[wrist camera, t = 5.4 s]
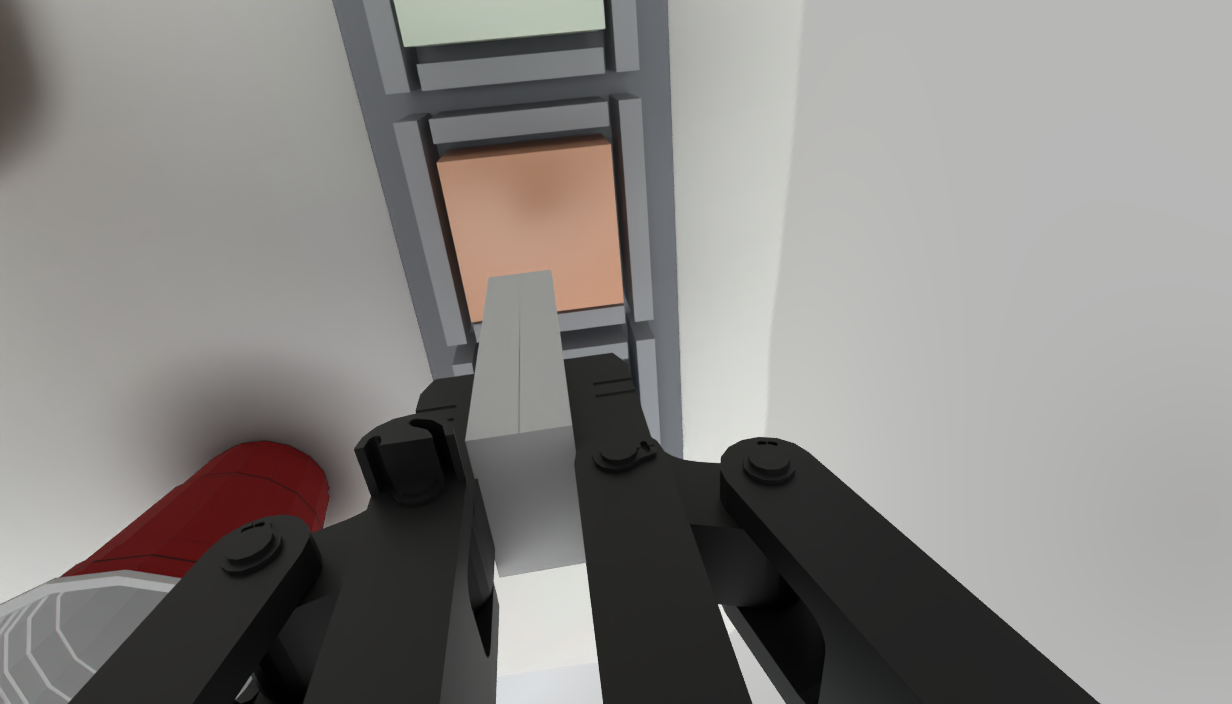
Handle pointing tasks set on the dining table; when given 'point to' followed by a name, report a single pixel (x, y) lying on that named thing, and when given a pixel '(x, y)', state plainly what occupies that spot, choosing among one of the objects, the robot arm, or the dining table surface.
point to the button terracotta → (536, 217)
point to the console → (517, 112)
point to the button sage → (493, 20)
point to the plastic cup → (145, 568)
